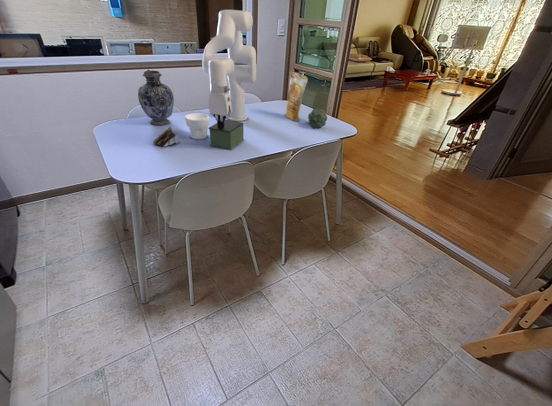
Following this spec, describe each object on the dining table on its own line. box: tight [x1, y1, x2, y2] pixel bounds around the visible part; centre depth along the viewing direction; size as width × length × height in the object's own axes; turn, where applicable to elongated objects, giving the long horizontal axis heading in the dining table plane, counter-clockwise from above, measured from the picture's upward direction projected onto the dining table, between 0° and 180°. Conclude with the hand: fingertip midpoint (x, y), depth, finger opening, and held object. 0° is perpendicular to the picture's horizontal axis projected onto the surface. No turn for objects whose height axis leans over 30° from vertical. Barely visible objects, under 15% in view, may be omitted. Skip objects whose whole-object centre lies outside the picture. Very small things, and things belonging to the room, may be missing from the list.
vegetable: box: [307, 107, 328, 129], centre depth 180 cm, size 12×13×15 cm
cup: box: [184, 112, 210, 140], centre depth 153 cm, size 12×12×11 cm
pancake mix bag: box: [285, 70, 309, 122], centre depth 186 cm, size 7×19×28 cm, turn 26°
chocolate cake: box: [152, 126, 180, 148], centre depth 145 cm, size 10×7×12 cm
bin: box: [209, 124, 244, 151], centre depth 149 cm, size 15×12×9 cm
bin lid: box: [208, 119, 244, 133], centre depth 146 cm, size 15×12×1 cm
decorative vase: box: [137, 69, 175, 126], centre depth 163 cm, size 21×19×28 cm
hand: (221, 128), depth 141 cm, fingers closed
